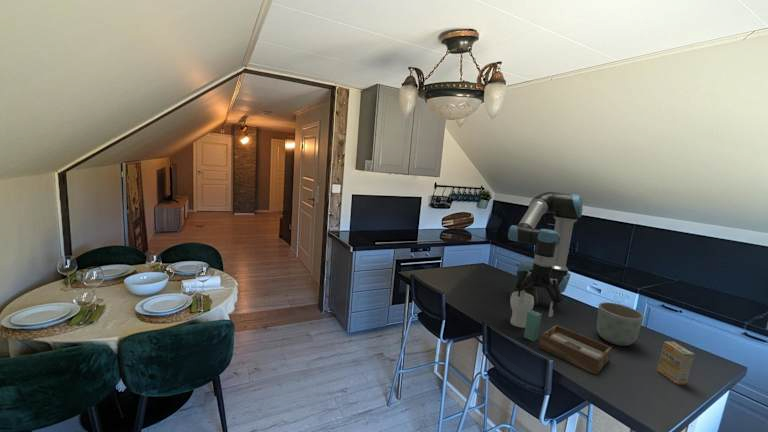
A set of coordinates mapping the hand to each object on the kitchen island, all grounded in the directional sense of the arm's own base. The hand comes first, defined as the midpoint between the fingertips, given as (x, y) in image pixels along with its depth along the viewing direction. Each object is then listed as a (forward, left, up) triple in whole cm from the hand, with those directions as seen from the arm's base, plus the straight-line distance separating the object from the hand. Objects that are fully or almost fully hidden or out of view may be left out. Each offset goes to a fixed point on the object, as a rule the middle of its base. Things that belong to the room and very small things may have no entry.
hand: (535, 309), depth 146 cm
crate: (-3, +17, -14) cm, 22 cm away
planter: (-33, +24, -14) cm, 44 cm away
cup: (-8, -10, -14) cm, 19 cm away
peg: (0, 0, -14) cm, 14 cm away
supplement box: (-20, +46, -14) cm, 52 cm away
